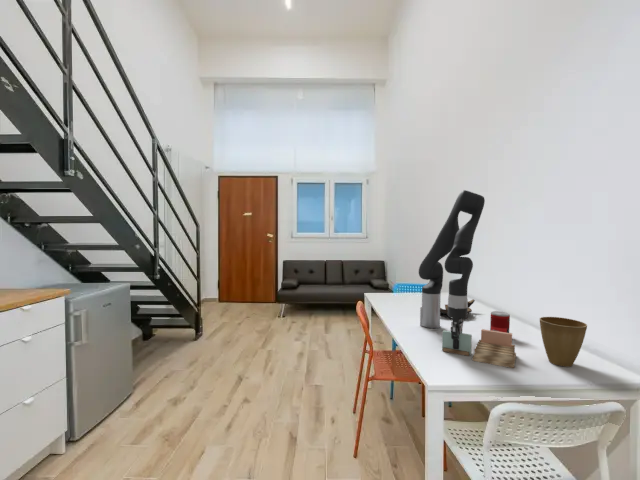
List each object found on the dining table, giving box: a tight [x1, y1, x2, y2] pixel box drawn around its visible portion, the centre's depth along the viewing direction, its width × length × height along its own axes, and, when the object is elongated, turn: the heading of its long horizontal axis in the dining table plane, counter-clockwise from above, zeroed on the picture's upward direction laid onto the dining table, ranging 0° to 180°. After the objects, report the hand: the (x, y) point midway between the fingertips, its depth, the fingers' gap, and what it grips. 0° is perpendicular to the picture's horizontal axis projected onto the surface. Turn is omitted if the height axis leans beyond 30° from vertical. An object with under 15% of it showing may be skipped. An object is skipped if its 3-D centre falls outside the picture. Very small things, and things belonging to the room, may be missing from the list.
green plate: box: [441, 329, 473, 356], centre depth 147 cm, size 11×2×8 cm, turn 59°
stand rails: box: [442, 347, 470, 357], centre depth 147 cm, size 10×4×1 cm, turn 59°
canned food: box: [489, 310, 511, 333], centre depth 169 cm, size 8×8×11 cm
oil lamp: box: [440, 299, 476, 316], centre depth 211 cm, size 22×30×8 cm
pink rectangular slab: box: [480, 328, 513, 347], centre depth 145 cm, size 11×2×8 cm, turn 59°
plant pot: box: [539, 316, 588, 368], centre depth 136 cm, size 15×15×16 cm
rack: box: [472, 339, 517, 369], centre depth 141 cm, size 14×15×4 cm
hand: (456, 347), depth 147 cm, fingers closed
